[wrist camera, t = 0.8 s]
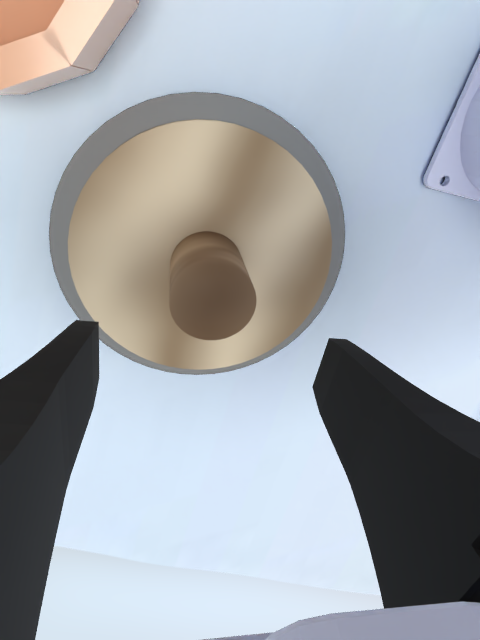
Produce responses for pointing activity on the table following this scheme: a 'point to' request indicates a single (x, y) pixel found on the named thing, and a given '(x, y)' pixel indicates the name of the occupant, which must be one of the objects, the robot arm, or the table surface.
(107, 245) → the lid
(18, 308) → the table surface
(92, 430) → the table surface
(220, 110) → the mat
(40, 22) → the bowl
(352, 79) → the table surface
